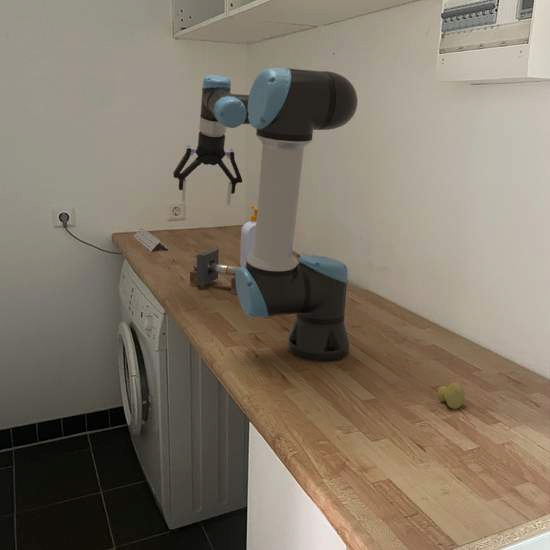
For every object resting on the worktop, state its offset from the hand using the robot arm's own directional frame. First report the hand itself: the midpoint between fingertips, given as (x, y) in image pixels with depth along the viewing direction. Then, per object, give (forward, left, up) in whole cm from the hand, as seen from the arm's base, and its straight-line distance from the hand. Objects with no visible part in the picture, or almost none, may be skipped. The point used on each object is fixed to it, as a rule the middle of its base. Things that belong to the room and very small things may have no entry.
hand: (205, 201), depth 174 cm
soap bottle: (+34, -1, -29) cm, 45 cm away
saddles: (+7, -1, -29) cm, 30 cm away
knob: (-40, -79, -29) cm, 94 cm away
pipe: (+7, -1, -24) cm, 25 cm away
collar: (+7, +3, -28) cm, 29 cm away
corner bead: (+48, +54, -30) cm, 78 cm away
